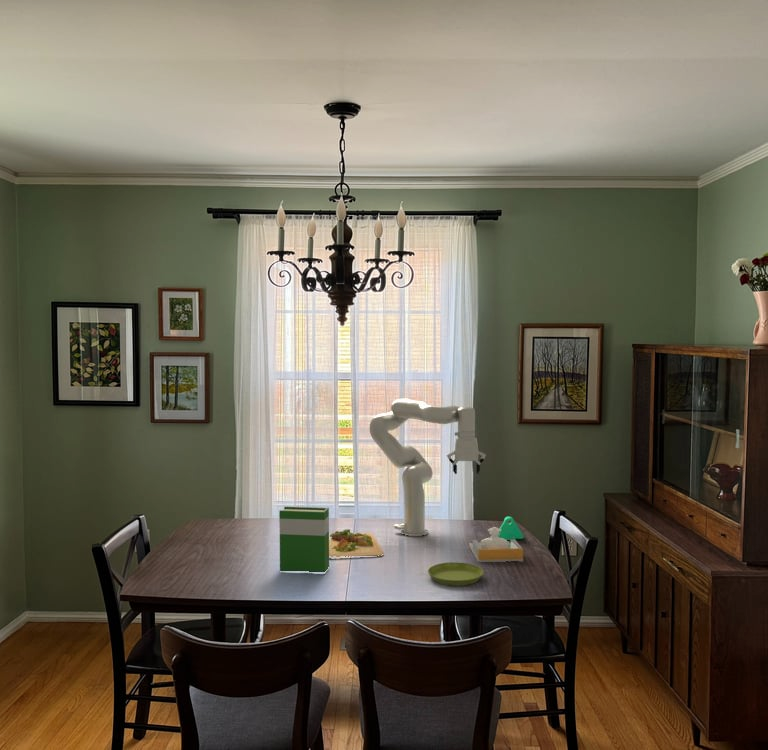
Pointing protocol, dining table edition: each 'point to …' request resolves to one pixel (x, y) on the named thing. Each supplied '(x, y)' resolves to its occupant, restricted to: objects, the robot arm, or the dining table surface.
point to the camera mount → (510, 530)
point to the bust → (494, 540)
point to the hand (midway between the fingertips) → (466, 473)
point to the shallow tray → (497, 552)
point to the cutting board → (353, 544)
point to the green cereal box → (304, 539)
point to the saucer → (455, 573)
